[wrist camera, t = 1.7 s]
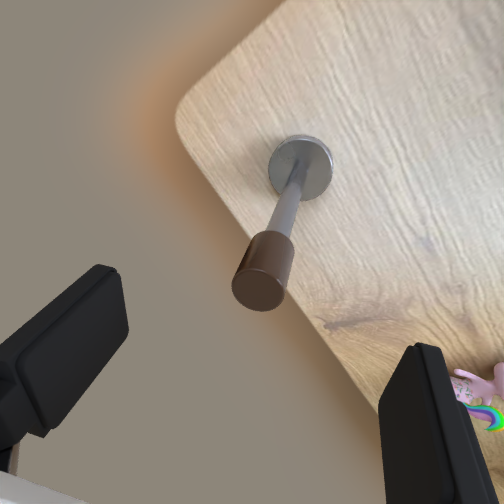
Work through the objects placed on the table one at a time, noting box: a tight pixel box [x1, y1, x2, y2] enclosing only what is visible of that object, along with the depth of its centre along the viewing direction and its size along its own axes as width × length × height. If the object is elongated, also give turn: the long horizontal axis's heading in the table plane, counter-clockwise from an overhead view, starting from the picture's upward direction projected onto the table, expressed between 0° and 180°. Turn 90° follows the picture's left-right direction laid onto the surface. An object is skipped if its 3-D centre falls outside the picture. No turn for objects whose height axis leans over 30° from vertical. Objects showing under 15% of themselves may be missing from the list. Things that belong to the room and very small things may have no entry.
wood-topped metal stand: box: [232, 135, 333, 312], centre depth 18 cm, size 5×5×15 cm
